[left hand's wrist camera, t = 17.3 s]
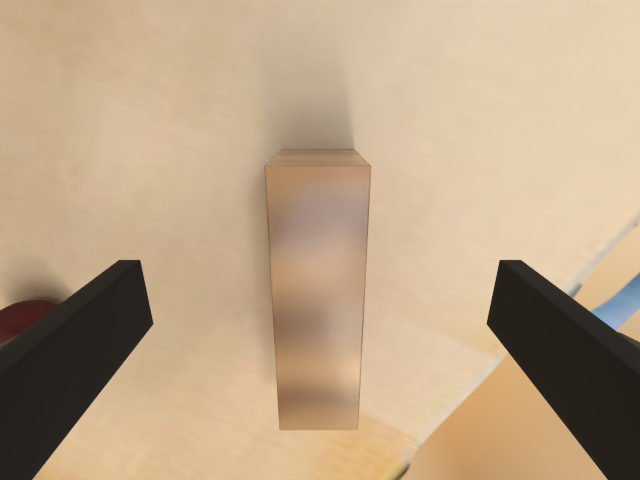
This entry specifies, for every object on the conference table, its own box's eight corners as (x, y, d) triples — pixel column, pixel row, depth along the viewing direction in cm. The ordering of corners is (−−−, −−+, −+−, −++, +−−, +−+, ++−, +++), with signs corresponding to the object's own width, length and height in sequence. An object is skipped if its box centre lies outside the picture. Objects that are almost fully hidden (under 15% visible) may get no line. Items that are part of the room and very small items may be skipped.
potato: (10, 328, 38) (-54, 372, 32) (29, 275, 36) (-35, 311, 30) (74, 356, 40) (26, 404, 33) (97, 307, 37) (49, 348, 31)
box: (281, 149, 32) (264, 165, 22) (354, 149, 32) (371, 165, 22) (289, 351, 40) (279, 430, 30) (348, 351, 40) (358, 430, 30)
